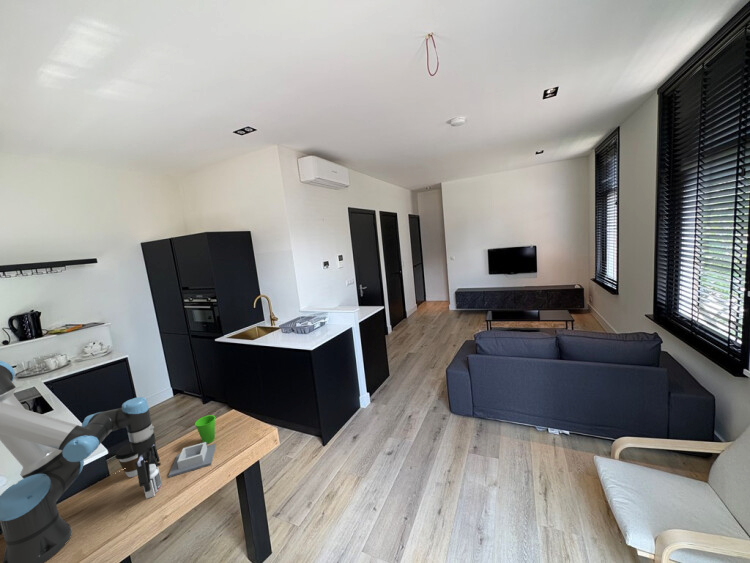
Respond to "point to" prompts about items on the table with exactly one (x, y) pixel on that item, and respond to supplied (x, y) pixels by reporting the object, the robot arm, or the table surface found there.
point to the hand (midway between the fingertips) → (153, 489)
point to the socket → (193, 458)
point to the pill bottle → (155, 478)
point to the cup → (206, 428)
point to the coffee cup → (128, 460)
